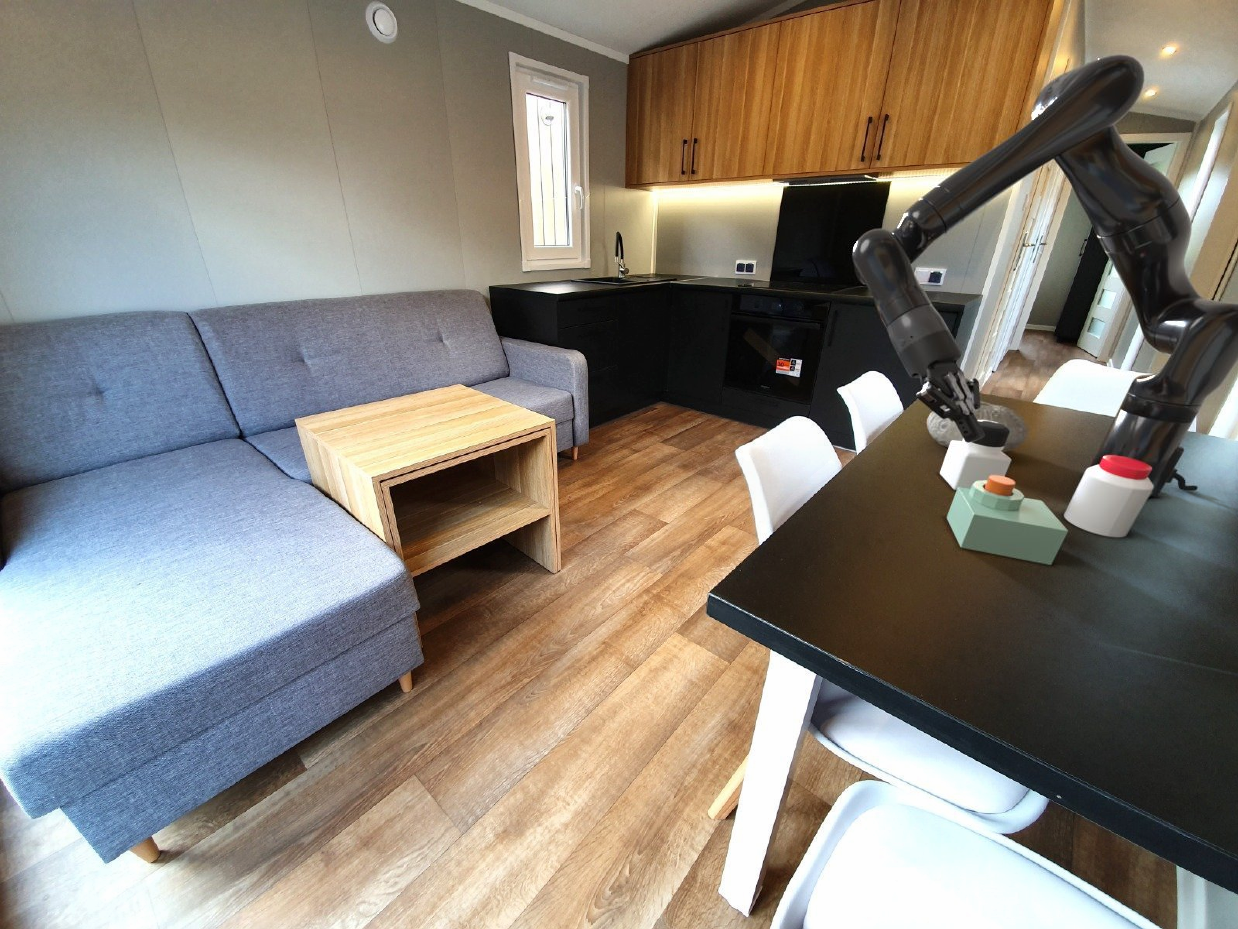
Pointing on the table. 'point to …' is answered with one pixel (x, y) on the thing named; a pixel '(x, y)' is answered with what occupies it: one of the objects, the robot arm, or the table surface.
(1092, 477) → the pill bottle
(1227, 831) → the table surface
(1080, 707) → the table surface
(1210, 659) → the table surface
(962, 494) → the button base
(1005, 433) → the medicine bottle
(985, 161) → the robot arm
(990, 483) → the orange push button
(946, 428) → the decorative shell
